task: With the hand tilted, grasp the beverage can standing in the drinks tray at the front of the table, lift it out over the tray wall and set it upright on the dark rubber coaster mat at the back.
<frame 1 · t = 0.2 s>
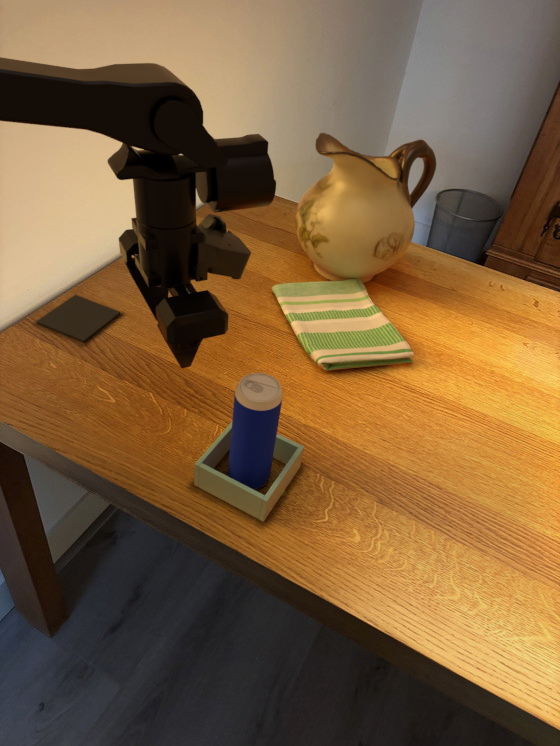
hand: (172, 342, 63), 14 cm above the table, tool pointing down, fingers open, 9 cm apart
dish towel: (338, 327, 94), on the table
pitcher: (344, 268, 110), on the table
drinks tray: (248, 475, 67), on the table
beverage can: (248, 476, 68), resting in drinks tray
mat: (79, 318, 87), on the table
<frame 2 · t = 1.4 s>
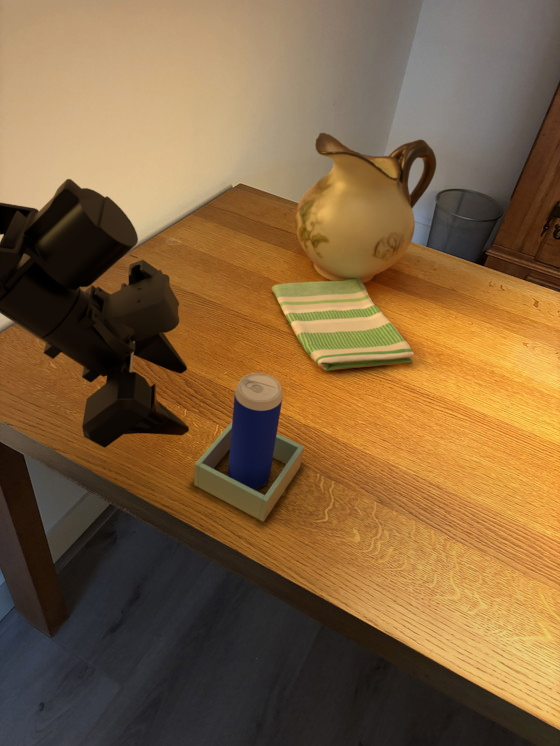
hand: (185, 399, 57), 13 cm above the table, tool tilted 45°, fingers open, 9 cm apart
nothing on the table moved.
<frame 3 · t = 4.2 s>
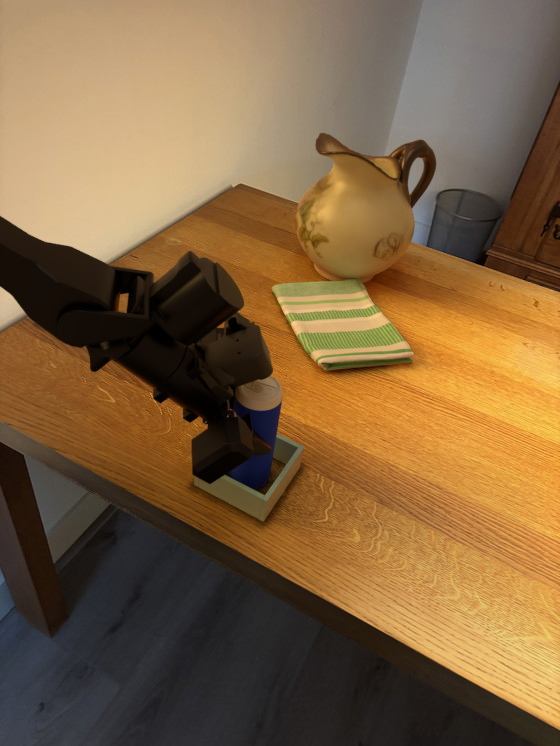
hand: (265, 434, 63), 8 cm above the table, tool tilted 45°, fingers closed on beverage can, 5 cm apart
beverage can: (248, 476, 68), resting in drinks tray, touching gripper
everything else where it was.
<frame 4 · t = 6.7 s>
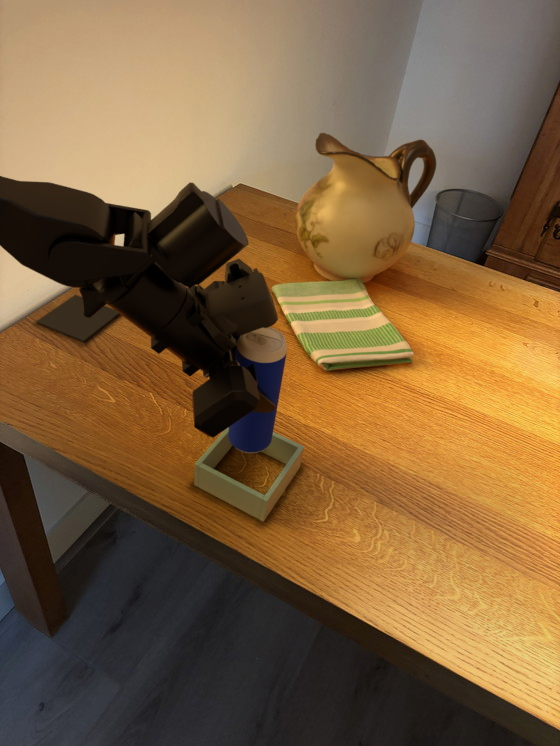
hand: (268, 392, 60), 13 cm above the table, tool tilted 45°, fingers closed on beverage can, 5 cm apart
beverage can: (249, 440, 65), point 5 cm above the table, touching gripper
everything else where it was.
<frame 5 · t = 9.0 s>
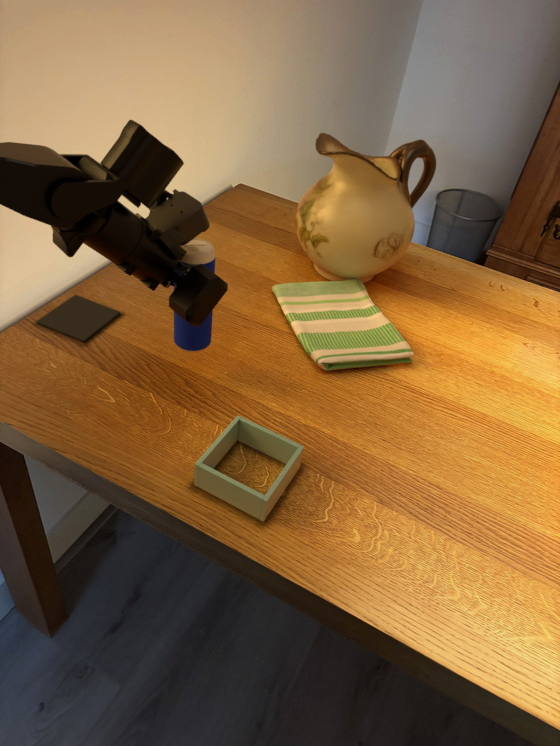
hand: (202, 294, 73), 13 cm above the table, tool tilted 45°, fingers closed on beverage can, 5 cm apart
beverage can: (192, 344, 77), point 5 cm above the table, touching gripper
everything else where it was.
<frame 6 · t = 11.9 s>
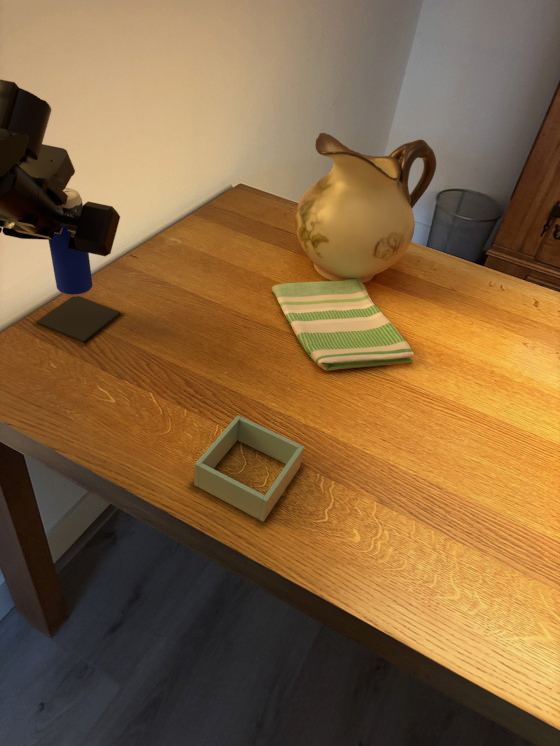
hand: (73, 240, 79), 13 cm above the table, tool tilted 45°, fingers closed on beverage can, 5 cm apart
beverage can: (75, 290, 83), point 5 cm above the table, touching gripper
everything else where it was.
when the fingers open (8 cm above the table, at t = 14.0 s): beverage can stays where it is, resting on mat.
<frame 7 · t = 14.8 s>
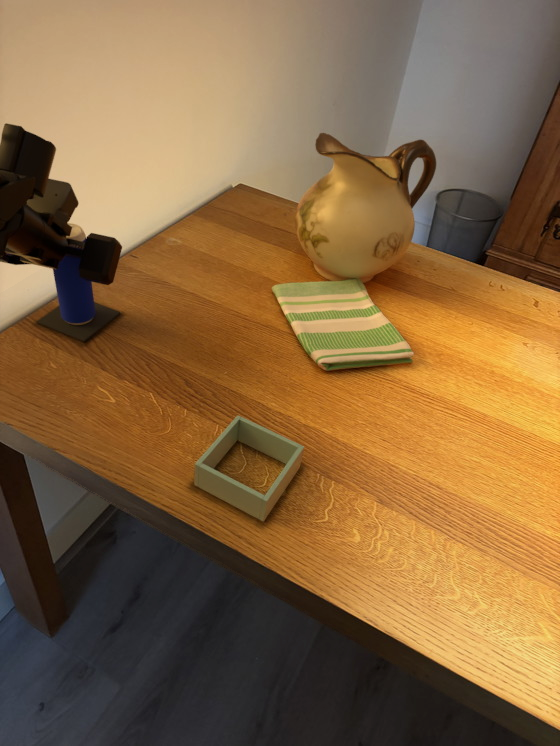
hand: (76, 265, 82), 9 cm above the table, tool tilted 45°, fingers open, 9 cm apart
beverage can: (79, 318, 87), resting on mat
everything else where it was.
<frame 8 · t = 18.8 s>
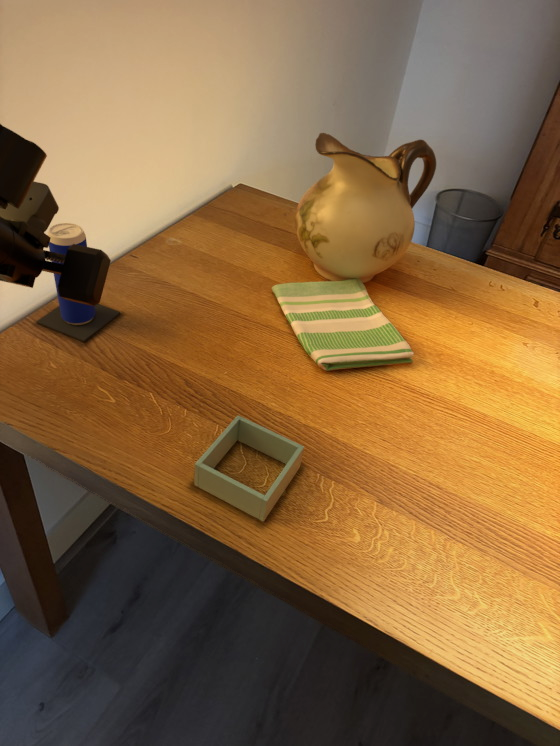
hand: (59, 281, 71), 14 cm above the table, tool tilted 45°, fingers open, 9 cm apart
nothing on the table moved.
at the end: beverage can inside the target area on the mat (0.1 cm from its centre), point 0.2 cm above the mat's base; beverage can tilted 0°; beverage can touching mat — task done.
